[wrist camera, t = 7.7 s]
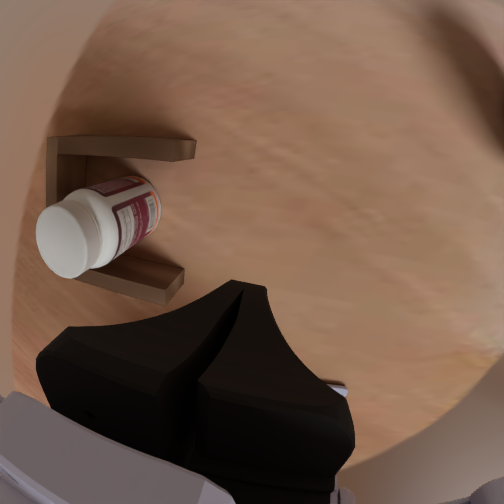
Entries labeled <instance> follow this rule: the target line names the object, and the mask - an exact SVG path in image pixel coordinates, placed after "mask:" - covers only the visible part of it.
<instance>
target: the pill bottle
mask: <svg viewBox="0 0 504 504" xmlns="http://www.w3.org/2000/svg"><path fill="white" fill-rule="evenodd" d="M160 216H161V204H160V199H159V197H158V194H157V192H156V191H155V189H154V188H153V186H152V185H151V184H150V183H149V182H148V181H146V180H145V179H143V178H140V177H137V176H126V177H122V178H118V179H114V180H110V181H107V182H103V183H99V184H96V185H93V186H89V187H85V188H81V189H78V190H75V191H74V192H72V193H70V194H69V195H68V196H66V197H65V198H64V200H63V201H60V202H58V203H56V204H53V205H51V206H49V207H47V208H46V209H44V210H43V211H42V212H41V214H40V216H39V218H38V220H37V224H36V241H37V245H38V249H39V252H40V254H41V256H42V258H43V260H44V261H45V263H46V264H47V266H48V267H49V268H50V269H51V270H52V271H53V272H54V273H56V274H57V275H59V276H61V277H64V278H75V277H77V276H79V275H81V274H82V273H84V272H85V271H86V270H88V269H90V268H99V267H102V266H104V265H106V264H108V263H109V262H110V261H112V260H113V259H115V258H116V257H117V256H119V255H120V254H122V253H123V252H124V251H126V250H127V249H129V248H130V247H132V246H133V245H135V244H136V243H138V242H139V241H141V240H142V239H143V238H145V237H146V236H148V235H149V234H150V233H152V232H153V231H154V229H155V228H156V227H157V225H158V223H159V220H160Z"/></svg>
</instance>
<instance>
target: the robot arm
mask: <svg viewBox="0 0 504 504" xmlns="http://www.w3.org/2000/svg"><path fill="white" fill-rule="evenodd" d="M36 371H37V375H38V378H39V381H40V384H41V386H42V388H43V391H44V393H45V395H46V398H47V400H48V402H49V404H50V407H51V408H49V407H48V406H46V405H44V404H43V403H41V402H39V401H38V400H36V399H34V398H32V397H29V396H27V395H25V394H23V393H21V392H16V391H13V392H12V393H10V394H9V395H8V396H7V397H6V398H3V397H2V396H1V395H0V504H356V501H355V496H354V494H353V493H352V492H351V491H349V490H348V488H347V487H344V488H339V490H338V496H337V476H335V475H336V474H337V472H338V471H339V470H340V469H341V467H342V466H343V465H344V464H345V462H346V461H347V460H348V458H349V457H350V456H351V454H352V452H353V450H354V448H355V431H354V425H353V421H352V417H351V413H350V410H349V406H348V403H347V400H346V398H345V397H346V395H347V393H348V389H347V387H345V386H339V385H331V384H325V383H324V382H323V381H322V380H320V379H319V378H318V377H317V376H316V375H315V374H314V373H312V372H311V371H310V370H309V369H308V368H307V367H306V366H305V365H304V364H303V363H302V361H301V360H300V359H299V358H298V357H297V356H296V355H295V353H294V352H293V351H292V349H291V348H290V347H289V345H288V343H287V342H286V340H285V339H284V337H283V335H282V333H281V332H280V330H279V328H278V326H277V324H276V321H275V319H274V316H273V314H272V311H271V308H270V305H269V301H268V297H267V289H266V287H265V286H261V285H256V284H251V283H246V282H241V281H236V280H230V281H228V282H226V283H225V284H223V285H222V286H220V287H218V288H217V289H215V290H214V291H212V292H210V293H209V294H207V295H205V296H203V297H202V298H200V299H198V300H196V301H194V302H192V303H190V304H188V305H186V306H183V307H181V308H179V309H176V310H174V311H171V312H168V313H165V314H162V315H159V316H156V317H152V318H148V319H144V320H139V321H135V322H130V323H124V324H116V325H107V326H83V327H71V326H69V327H67V328H66V329H65V330H64V331H63V332H62V333H61V334H59V335H58V336H57V337H56V338H55V339H54V340H53V341H52V342H51V343H50V344H49V345H47V346H46V347H45V348H44V349H43V350H42V351H41V352H40V353H39V354H38V356H37V358H36ZM341 394H342V395H341ZM440 504H504V477H501V478H498V479H495V480H492V481H489V482H487V483H486V484H484V485H482V486H481V487H479V488H478V489H477V490H476V491H474V492H473V493H472V494H471V496H470V497H466V498H462V499H458V500H454V501H449V502H445V503H440Z"/></svg>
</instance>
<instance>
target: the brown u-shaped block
mask: <svg viewBox="0 0 504 504" xmlns="http://www.w3.org/2000/svg"><path fill="white" fill-rule="evenodd" d="M195 148H196V141H194V140H183V139H171V138H157V137H139V136H112V135H72V136H57V137H48V138H47V157H46V208H47V207H49V206H51V205H53V204H56V203H58V202H60V201H63V200H64V198H65V197H66V196H68V195H69V194H70V193H72V192H74V191H75V190H78V189H81V188H85V181H86V158H87V155H95V156H112V157H126V158H138V159H150V160H160V161H170V162H175V161H182V160H188V159H194V156H195ZM52 272H53V271H52ZM72 279H75V280H78V281H82V282H85V283H88V284H91V285H94V286H97V287H100V288H104V289H107V290H110V291H114V292H117V293H120V294H124V295H127V296H131V297H134V298H138V299H141V300H145V301H148V302H152V303H156V304H159V305H163V306H166V304H167V303H168V302H169V301H170V300H171V298H172V297H173V296H174V295H175V293H176V292H177V291H178V290H179V288H180V287H181V286H182V285H183V284H184V269H182V268H178V267H173V266H169V265H164V264H160V263H155V262H151V261H147V260H142V259H138V258H134V257H130V256H125V255H121V254H120V255H119V256H117V257H116V258H115V259H113V260H112V261H110V262H109V263H108V264H106V265H104V266H102V267H99V268H90V269H88V270H86V271H85V272H84V273H82V274H81V275H79V276H77V277H75V278H72Z"/></svg>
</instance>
